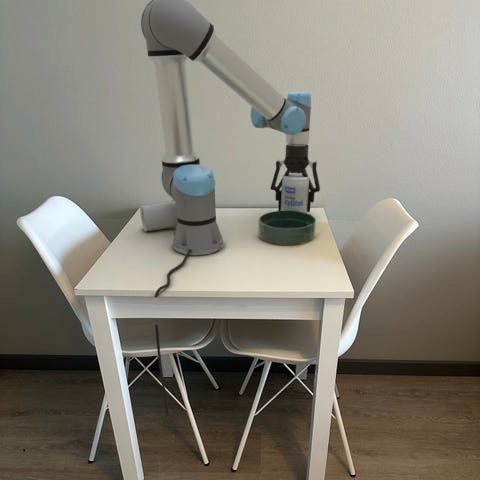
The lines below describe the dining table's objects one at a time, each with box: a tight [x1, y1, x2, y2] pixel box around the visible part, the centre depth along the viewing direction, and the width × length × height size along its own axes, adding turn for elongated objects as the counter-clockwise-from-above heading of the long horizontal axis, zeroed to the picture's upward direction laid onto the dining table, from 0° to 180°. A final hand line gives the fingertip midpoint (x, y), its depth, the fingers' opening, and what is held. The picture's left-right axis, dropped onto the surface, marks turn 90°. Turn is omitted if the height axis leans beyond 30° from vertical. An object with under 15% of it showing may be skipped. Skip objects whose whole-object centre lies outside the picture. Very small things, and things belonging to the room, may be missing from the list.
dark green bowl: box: [258, 210, 317, 246], centre depth 150 cm, size 18×18×6 cm
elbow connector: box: [139, 198, 178, 232], centre depth 160 cm, size 18×11×20 cm
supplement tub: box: [280, 173, 311, 214], centre depth 163 cm, size 10×10×15 cm
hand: (294, 210), depth 166 cm, fingers closed on supplement tub, 10 cm apart
